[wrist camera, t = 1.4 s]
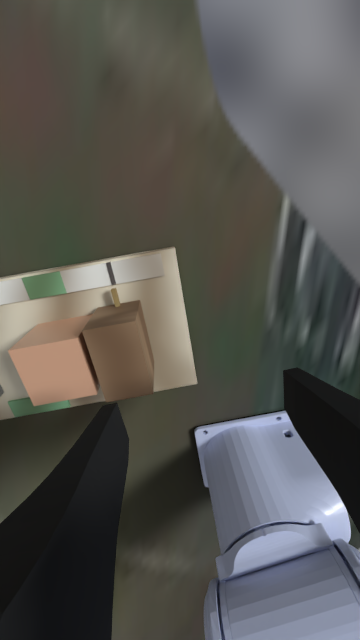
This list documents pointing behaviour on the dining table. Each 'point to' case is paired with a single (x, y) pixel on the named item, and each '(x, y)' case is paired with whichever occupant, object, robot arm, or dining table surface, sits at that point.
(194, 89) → the dining table surface
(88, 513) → the robot arm
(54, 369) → the peach matte cube
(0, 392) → the grey flat block
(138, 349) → the brown box with peg
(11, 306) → the gauge board
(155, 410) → the dining table surface
